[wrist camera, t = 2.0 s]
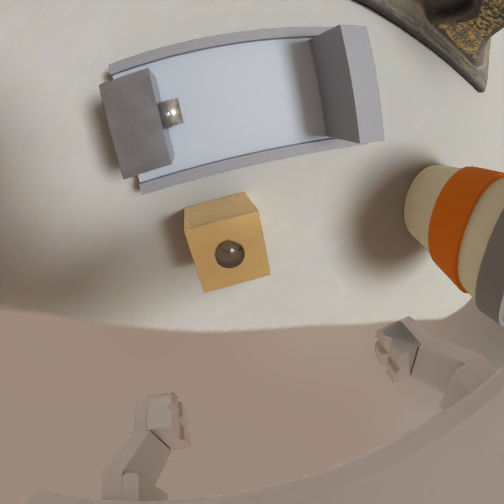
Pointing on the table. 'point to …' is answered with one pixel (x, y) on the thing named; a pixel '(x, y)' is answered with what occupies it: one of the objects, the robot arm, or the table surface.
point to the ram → (140, 122)
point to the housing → (226, 241)
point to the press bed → (262, 97)
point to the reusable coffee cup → (462, 229)
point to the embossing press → (450, 30)
